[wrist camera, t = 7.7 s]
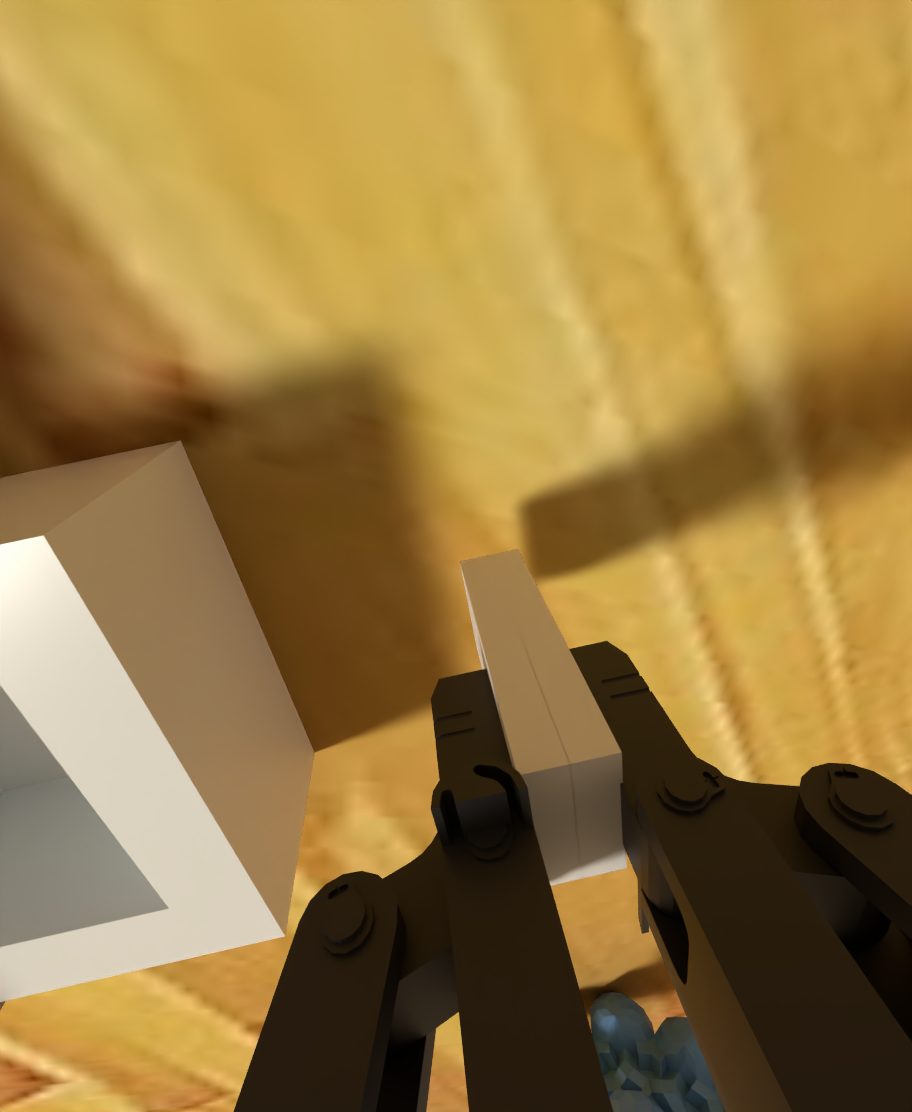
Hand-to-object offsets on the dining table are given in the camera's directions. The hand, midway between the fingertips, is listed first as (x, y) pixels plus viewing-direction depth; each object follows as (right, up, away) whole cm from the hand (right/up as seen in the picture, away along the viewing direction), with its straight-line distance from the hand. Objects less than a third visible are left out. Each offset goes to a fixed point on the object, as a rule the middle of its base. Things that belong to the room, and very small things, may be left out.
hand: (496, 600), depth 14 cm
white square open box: (-12, -2, +2) cm, 13 cm away
